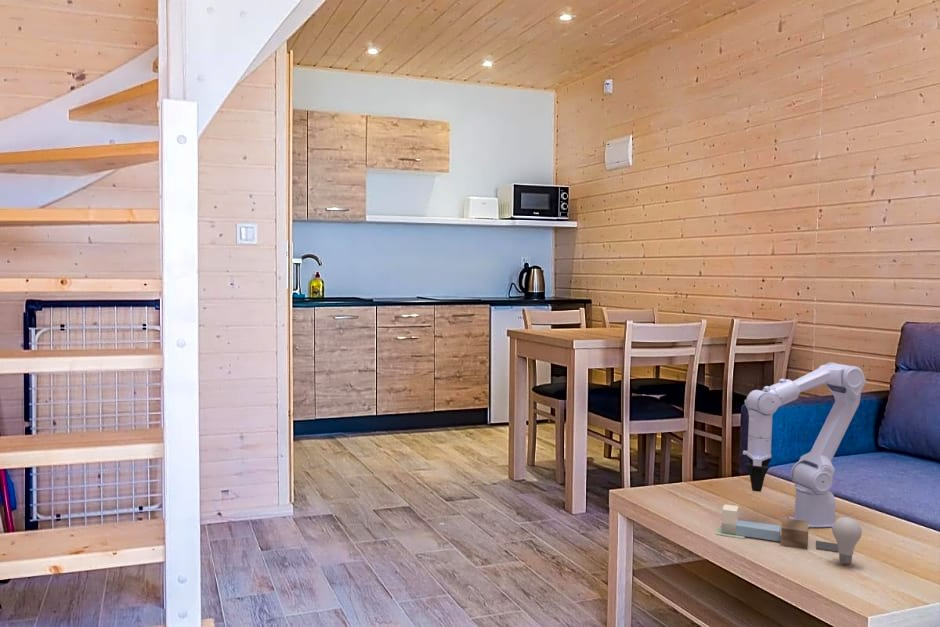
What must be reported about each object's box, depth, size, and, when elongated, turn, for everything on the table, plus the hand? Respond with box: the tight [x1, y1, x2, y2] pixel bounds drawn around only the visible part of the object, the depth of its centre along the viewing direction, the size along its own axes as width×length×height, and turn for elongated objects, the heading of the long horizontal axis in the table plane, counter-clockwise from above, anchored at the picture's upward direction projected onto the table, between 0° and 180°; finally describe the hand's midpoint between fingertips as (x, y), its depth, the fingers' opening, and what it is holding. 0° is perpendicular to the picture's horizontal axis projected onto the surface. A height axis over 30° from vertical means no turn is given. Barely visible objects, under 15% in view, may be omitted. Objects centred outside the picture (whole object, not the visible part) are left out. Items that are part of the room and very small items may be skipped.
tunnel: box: [780, 517, 809, 551], centre depth 190 cm, size 6×9×4 cm
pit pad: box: [815, 540, 839, 554], centre depth 187 cm, size 6×6×1 cm
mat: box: [714, 525, 746, 539], centre depth 197 cm, size 7×7×1 cm
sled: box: [721, 504, 782, 542], centre depth 194 cm, size 14×5×6 cm, turn 66°
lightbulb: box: [831, 516, 863, 566], centre depth 176 cm, size 6×6×11 cm
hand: (757, 487), depth 201 cm, fingers open, 7 cm apart
